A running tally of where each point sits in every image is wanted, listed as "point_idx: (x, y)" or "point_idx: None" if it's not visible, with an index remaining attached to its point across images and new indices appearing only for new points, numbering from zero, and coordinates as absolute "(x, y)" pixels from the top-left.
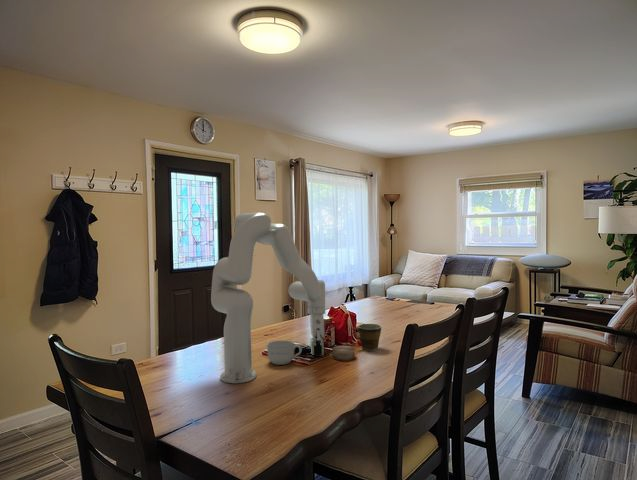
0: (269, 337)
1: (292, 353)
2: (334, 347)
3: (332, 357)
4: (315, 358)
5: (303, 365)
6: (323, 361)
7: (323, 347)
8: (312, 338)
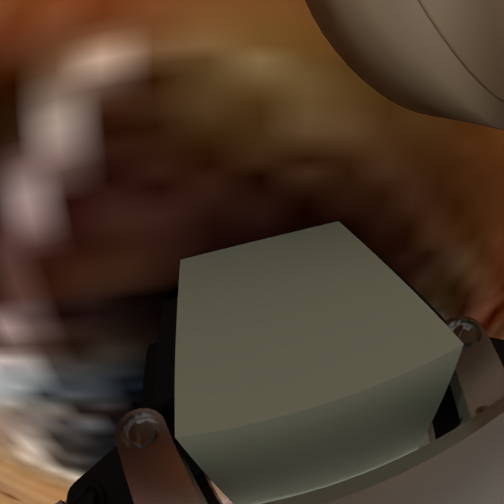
0: (26, 496)
1: None
2: (464, 80)
3: (436, 116)
4: (424, 287)
5: (500, 323)
6: (494, 210)
7: (391, 271)
8: (261, 501)
